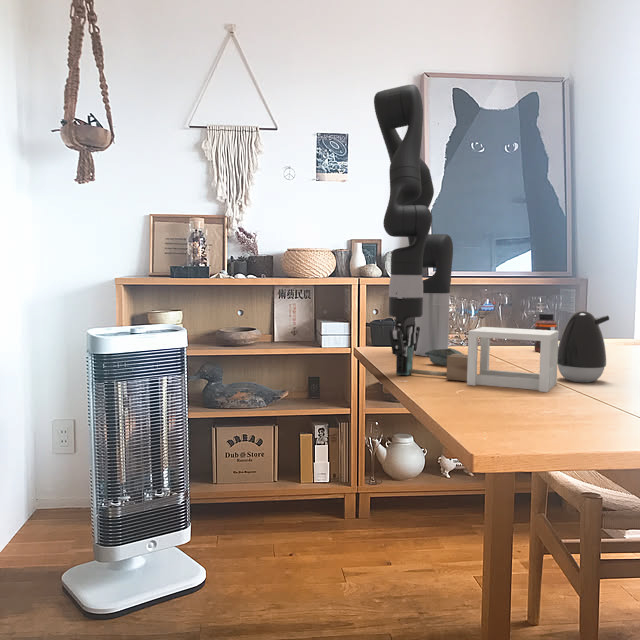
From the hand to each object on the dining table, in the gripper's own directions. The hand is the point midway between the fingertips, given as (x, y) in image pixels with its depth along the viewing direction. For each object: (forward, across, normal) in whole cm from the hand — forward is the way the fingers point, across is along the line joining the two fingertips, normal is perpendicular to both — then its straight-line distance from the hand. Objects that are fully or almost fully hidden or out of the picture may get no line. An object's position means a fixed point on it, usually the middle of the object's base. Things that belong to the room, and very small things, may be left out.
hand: (404, 371), depth 157 cm
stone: (+1, -22, +5) cm, 22 cm away
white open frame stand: (+1, 0, +24) cm, 24 cm away
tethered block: (0, 0, +7) cm, 7 cm away
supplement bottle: (+1, -65, +20) cm, 68 cm away
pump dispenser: (+1, -13, +36) cm, 38 cm away
